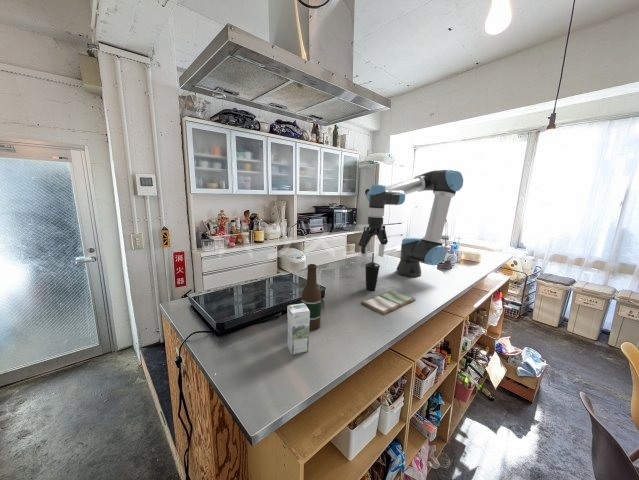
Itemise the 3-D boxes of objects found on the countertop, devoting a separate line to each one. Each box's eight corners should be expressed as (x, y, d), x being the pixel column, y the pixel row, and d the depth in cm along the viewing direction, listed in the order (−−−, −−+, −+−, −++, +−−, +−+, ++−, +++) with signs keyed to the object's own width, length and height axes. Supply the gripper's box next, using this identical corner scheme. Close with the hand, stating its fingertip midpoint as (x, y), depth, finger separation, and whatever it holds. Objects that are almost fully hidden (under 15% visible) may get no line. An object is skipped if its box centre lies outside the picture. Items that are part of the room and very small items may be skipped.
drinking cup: (374, 293, 127) (377, 255, 123) (360, 290, 132) (363, 253, 128) (380, 289, 133) (383, 252, 129) (367, 286, 138) (369, 250, 134)
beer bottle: (298, 322, 98) (298, 262, 93) (316, 319, 101) (318, 261, 96) (303, 332, 91) (304, 268, 86) (323, 329, 93) (326, 267, 89)
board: (392, 292, 130) (392, 289, 130) (415, 300, 120) (415, 298, 120) (361, 303, 115) (361, 301, 115) (384, 315, 106) (384, 312, 105)
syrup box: (303, 342, 85) (303, 302, 82) (309, 352, 80) (310, 309, 77) (286, 345, 83) (286, 304, 80) (291, 356, 78) (292, 312, 75)
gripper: (385, 215, 136) (381, 253, 140) (352, 216, 120) (350, 259, 124) (397, 216, 130) (393, 256, 134) (364, 218, 114) (361, 263, 118)
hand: (372, 258), depth 129 cm, fingers open, 13 cm apart
